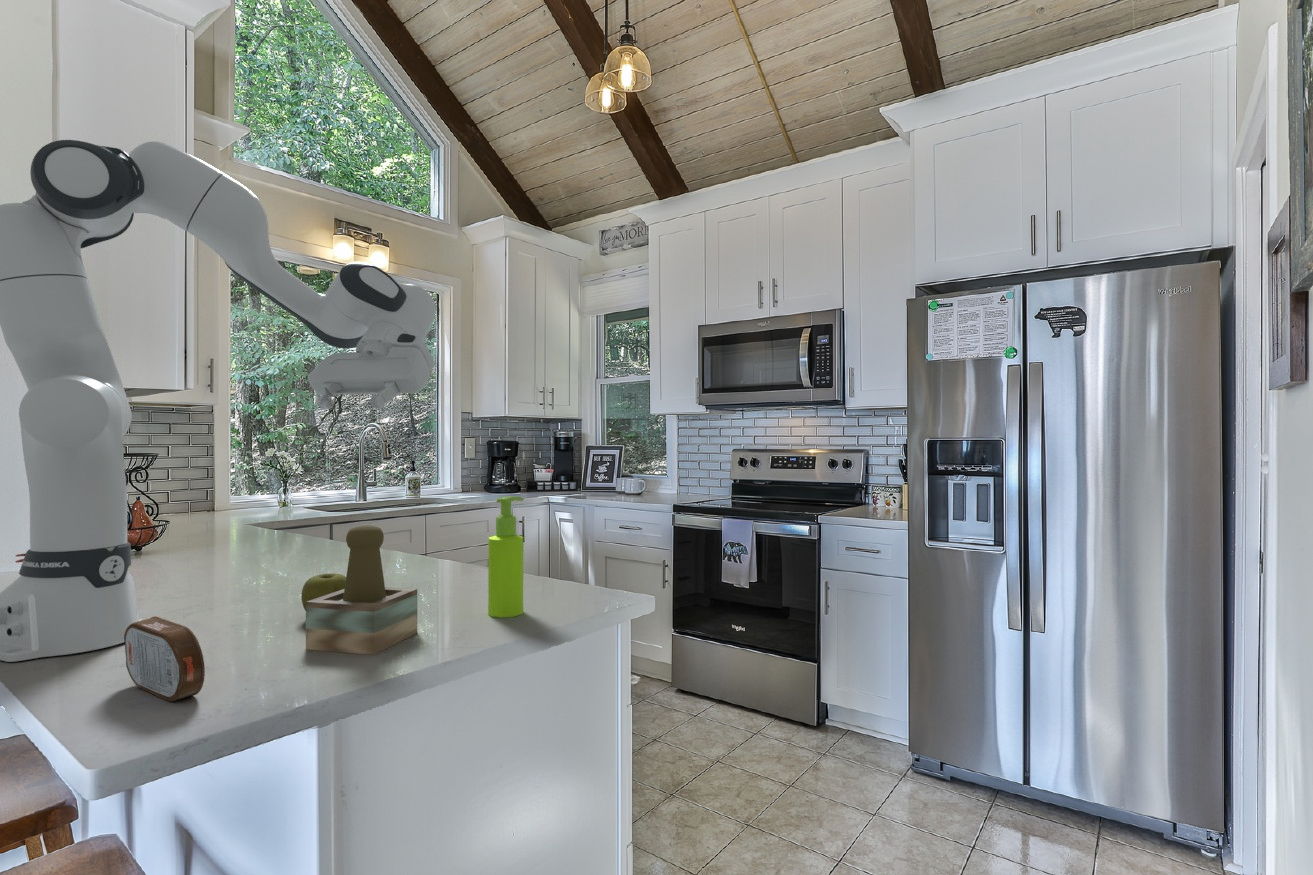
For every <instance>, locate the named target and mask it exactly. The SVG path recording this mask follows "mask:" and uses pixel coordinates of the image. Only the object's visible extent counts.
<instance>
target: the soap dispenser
mask: <svg viewBox="0 0 1313 875" xmlns="http://www.w3.org/2000/svg"><path fill="white" fill-rule="evenodd" d="M524 498H525V497H520V496H510V495H509V496H503V497H498V498H496V503H500V514H499V515H498V516H496V517H495V535H492V536H489V537H488V541H487V542H488V552H487V556H488V563H487V566H488V567H487V568H488V576H487V578H488V580H487V582H488V585H487V586H488V590H487V591H488V596H487V597H488V598H487V599H488V600H487V601H488V602H487V604H488V605H487V606H488V607H487V608H488V609H487V610H488V612H487V614H488V616H490V617H492V618H504V619H505V618H513V617H518V616H521V615H522V614H523V613H524V536H522V535H519V534H517V516H515V515H513V514H512V502H514V501H516V502H517V501H520V502H522V501H524V500H525V499H524Z"/></svg>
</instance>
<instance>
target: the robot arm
mask: <svg viewBox="0 0 1313 875" xmlns="http://www.w3.org/2000/svg"><path fill="white" fill-rule="evenodd" d="M121 154H122V155H121ZM29 173H30V180H31V183H32V186H33V188H34V190H35V194H34V195H32V197H31V198H30V199H28V200H25V201H22V202H10V203H2V204H0V329H1V331H2V335H3V339H4V341H5V344H6V346H7V347H8V350H9V351H10V352H11V355H12V357H13V359H14V361H15V362H16V365H17V367H18V369H19V371H20V374H21V376H22V377H23V380H24V383H25V385H26V387H27V389H28V390H27V391H26V393H25V394H24V396H23V397H22V398H21V400H20V404H19V407H18V418H19V424H20V435H21V445H22V453H23V461H24V467H25V474H26V479H27V484H28V493H29V495H28V496H29V549H27V551H26V552H25V553H18V554H15V557H23V558H21V559H18V560H15V563H17V564H18V563H21V566H20V569H19V572H18V574H19V577H18V578H16V579H15V580H14V581H13V582H11V583H10V584H9V585H8V586H6V587H5V588H4V589H2V590H1V591H0V661H3V662H7V663H9V662H11V663H12V662H13V663H14V662H20V661H21V662H22V661H27V660H32V659H39V658H46V657H47V658H48V657H55V656H65V655H72V654H78V653H84V652H90V651H91V652H92V651H95V650H100V649H104V648H109V647H113V646H117V645H119V644H122V643H125V641H124V634H125V631H126V629H127V627H128V626H129V625H130V624H132V623H135V622H138V621H142V620H143V618H139V614H138V606H137V605H138V604H137V597H136V596H137V595H136V589H135V582H134V578H133V576H132V574H130V572H129V567H130V566H131V565H132V556H133V550H132V547H131V546H132V544H131V542H129V541H128V488H127V481H126V471H125V459H124V458H125V457H124V442H123V438H124V436H125V435H126V434H127V433H128V431H129V429H130V427H131V424H132V419H133V418H132V414H133V413H132V410H131V406H130V402H129V400H128V397H127V396H128V395H127V394H126V391H125V387H124V384H123V382H122V378H121V377H120V374H119V370H118V367H117V363H116V362H115V360H114V356H113V353H112V350H111V348H110V346H109V343H108V341H107V338H106V335H105V332H104V330H103V325H102V322H101V318H100V315H99V313H98V309H97V305H96V301H95V298H94V296H93V292H92V289H91V288H92V287H91V285H90V282H89V279H88V275H87V272H86V269H85V265H84V263H83V259H82V253H81V249H84V248H87V247H90V246H93V245H96V244H99V243H102V242H106V241H110V240H112V239H115V238H117V237H119V236H121V235H122V234H123V233H125V232H126V231H127V230H128V229H129V227H130V226H131V224H132V222H133V220H134V217H135V216H134V214H149V215H153V216H156V217H159V218H161V219H164V220H167V221H169V222H170V223H172V224H173V225H175V226H177V227H179V228H180V229H182V230H184V231H185V232H187V233H188V234H190V235H191V236H194V237H195V238H197V239H198V240H200V241H201V242H203V243H204V244H206V245H207V247H209V248H210V249H212V250H213V251H214V252H215V253H216V254H217V256H219V257H220V258H221V259H222V261H224V263H225V265H226V266H227V268H228V269H229V270H230V271H231V273H233V274H234V275H236V277H238V278H239V279H240V280H242V281H243V282H244V283H246V284H247V285H248V286H250V287H251V288H252V289H254V290H256V291H257V292H258V293H259V294H261V295H263V296H264V297H265V298H267V299H268V300H270V301H271V302H273V303H274V304H275V305H277V306H278V307H279V308H281V309H282V310H284V311H285V312H286V313H289V315H292V316H293V317H294V318H296V320H298V321H300V322H301V323H302V324H303V325H304V326H305V327H306V328H308V329H309V331H310V332H312V333H313V334H314V335H315V336H316V337H317V338H318V339H319V340H320V341H322V342H323V343H324V344H326V345H329V346H330V347H333V348H338V349H354V348H355V352H353V351H352V352H336V353H332V354H329V355H327V356H325V358H324V359H322V360H321V361H320V362H319V363H318V364H317V365H316V366H315V368H314V369H312V370H311V372H310V373H309V374H308V376H307V381H308V382H309V385H310V386H311V388H312V389H313V391H314V392H315V393H316V394H317V395H320V397H319V399H318V400H317V405H318V406H319V408H320V409H321V410H331V409H332V407H334V405H335V401H334V399H332V398H333V397H335V396H336V395H371V397H370V399H369V401H368V403H369V405H370V406H371V408H372V409H375V410H376V409H377V410H378V409H379V410H381V409H383V407H384V406H385V404H386V403H388V402H389V401H390V400H392V399H394V398H396V397H397V396H398V394H399V395H400V394H417V393H419V392H420V391H422V390H423V389H424V387H425V386H426V385H427V383H428V382H429V379H430V376H431V372H432V370H433V369H434V368H435V362H434V358H433V356H432V354H431V351H430V350H429V347H428V346H427V343H426V342H425V339H426V337H427V336H428V335H429V333H430V330H431V328H432V326H433V323H434V321H435V317H436V305H435V301H434V299H433V297H432V295H431V294H430V293H429V292H428V291H427V290H426V289H425V288H423V287H421V286H420V285H417V284H414V283H403V282H399V281H397V280H395V279H394V278H393V277H392V276H390V275H389V273H387V272H386V271H384V270H383V269H381V268H380V267H378V266H376V265H374V264H371V263H369V262H364V261H353V262H348V263H347V264H344V265H343V266H342V267H341V269H340V271H339V272H338V273H337V274H336V276H335V277H334V278H333V280H332V282H331V283H330V284H329V287H327V290H326V291H325V293H323V294H322V293H319V292H317V291H315V290H314V289H313V288H312V287H311V286H309V285H307V284H306V283H305V282H303V281H302V280H301V279H300V278H298V277H297V276H295V275H294V274H292V272H290V271H288V270H287V269H286V268H284V267H283V266H282V265H281V264H280V263H279V262H278V261H277V259H276V258H275V256H274V254H273V251H272V248H271V245H270V239H269V238H270V237H269V221H268V217H267V214H266V210H265V208H264V206H263V204H262V202H261V201H260V199H259V198H258V196H256V195H255V194H254V193H253V192H252V191H251V190H250V189H249V188H247V187H246V186H244V185H243V184H242V183H240V182H239V181H237V180H235V179H234V178H233V177H230V176H229V175H228V174H226V173H224V172H223V171H220V170H219V169H217V168H216V167H214V166H212V165H211V164H209V163H207V162H205V161H203V160H202V159H199V158H198V157H196V156H193V155H191V154H189V153H187V152H185V151H183V150H180V149H179V148H177V147H174V146H172V145H169V144H166V143H164V142H162V141H161V142H160V141H148V142H144V143H142V144H139V145H138V146H136V147H134V148H133V149H132V150H131V151H130V152H129V154H128V153H127V152H126V151H125V150H123V149H121V148H118V147H112V146H111V147H110V146H104V145H98V144H94V143H91V142H88V141H81V140H77V139H76V140H75V139H60V140H55V141H51V142H50V143H49V142H48V143H47V144H45V145H43V146H42V147H41V148H40V149H39V150H38V151H37V152H36V153H35V155H34V156H33V158H32V161H31V164H30V172H29Z"/></svg>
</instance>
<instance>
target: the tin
mask: <svg viewBox="0 0 1313 875" xmlns="http://www.w3.org/2000/svg"><path fill="white" fill-rule="evenodd" d="M124 641H125V642H124V649H125V651H124V652H125V665H126V669H127V672H128V675H129V677H130V679H131V680H132V682H133V684H134V685H135V686H136V687H137V688H139V689H141V690H143V691H145V692H148V693H149V694H152V695H154V696H156V697H158V698H160V699H162V700H165V701H167V702H176V701H180V700H182V699H185V698H188V697H193V696H197V695H198V694H199V693H200V692H201V691H202V688H203V687H204V682H205V676H206V674H205V673H206V670H205V669H206V668H205V666H206V665H205V659H204V654H203V650H202V648H201V645H200V642H199V640H198V638H197V637H196V634H194V632H193V631H192V630H191V629H190V628H189V627H188V626H186V625H183V624H180V623H177V622H173V621H171V620H167V619H166V618H163V617H160V616H151V617H150V618H147V619H142V621H138V622H135V623H132V624H130V625H129V626H128V627H127V629H126V631H125V634H124Z"/></svg>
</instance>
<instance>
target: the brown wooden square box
mask: <svg viewBox="0 0 1313 875" xmlns="http://www.w3.org/2000/svg"><path fill="white" fill-rule="evenodd" d="M385 592H386V597H385V598H383V599H380V600H378V601H375V602H373V603H364V602H347V601H343V596H344V589H343V590H340V591H337V592H334V593H331V594H328V595H325V596H322V597H319V598H316V599H313V600H310V601H307V602H306V611H305V650H312V651H321V652H323V651H324V652H336V653H347V654H348V653H350V654H360V655H361V654H364V655H376V654H378V653H380V652H382V651H384V650H386V649H389V648H390V647H392V646H394V645H396V644H398V643H400V642H402V641H404V640H406V639H407V638H410V637H412V636H414V635H416V634H418V588H407V587H404V588H403V587H388V586H387V587H386V586H385Z"/></svg>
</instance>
